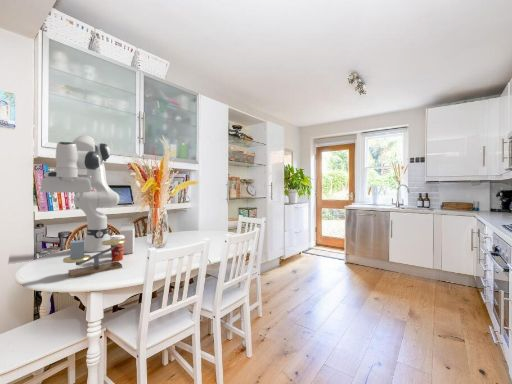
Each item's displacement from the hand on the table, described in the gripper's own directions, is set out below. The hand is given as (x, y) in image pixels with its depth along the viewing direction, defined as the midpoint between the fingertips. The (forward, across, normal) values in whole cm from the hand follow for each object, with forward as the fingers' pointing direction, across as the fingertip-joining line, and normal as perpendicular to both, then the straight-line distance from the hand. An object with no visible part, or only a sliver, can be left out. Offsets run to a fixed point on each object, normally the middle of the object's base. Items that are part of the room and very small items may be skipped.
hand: (67, 201), depth 125 cm
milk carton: (+35, -33, -16) cm, 51 cm away
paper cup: (+35, -24, -4) cm, 43 cm away
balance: (+35, -11, +9) cm, 38 cm away
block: (+27, -3, +9) cm, 29 cm away
